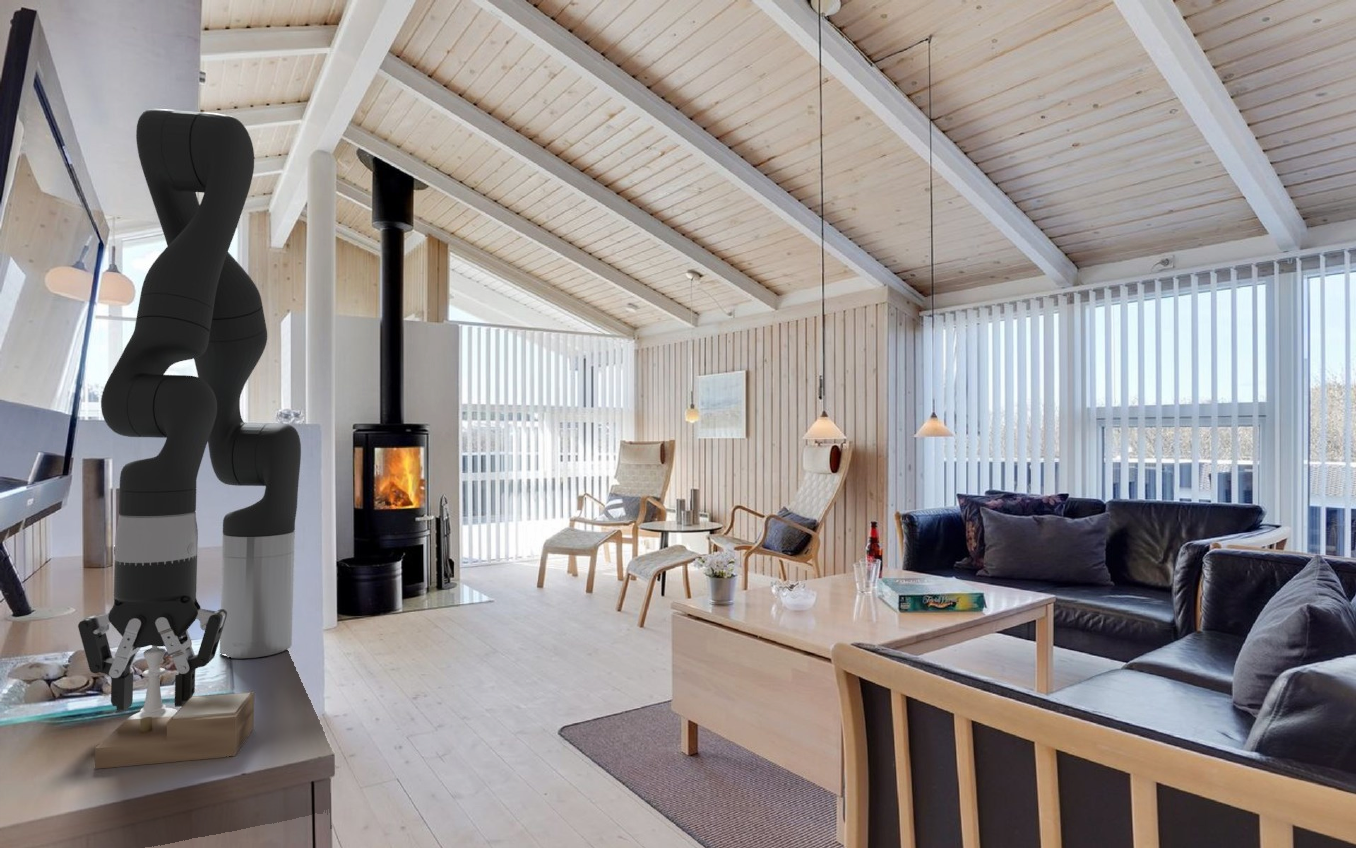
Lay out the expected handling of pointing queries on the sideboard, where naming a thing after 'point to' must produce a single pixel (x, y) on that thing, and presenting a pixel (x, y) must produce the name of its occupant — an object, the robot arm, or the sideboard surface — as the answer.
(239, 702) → the stepped wooden block
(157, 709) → the chess piece
